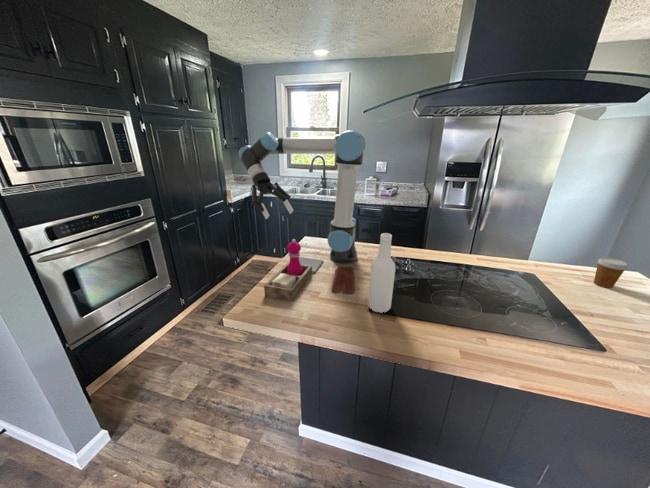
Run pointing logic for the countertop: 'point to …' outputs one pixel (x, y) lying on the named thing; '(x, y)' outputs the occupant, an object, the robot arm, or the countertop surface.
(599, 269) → the disposable coffee cup
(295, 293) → the tray
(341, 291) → the wooden tablet
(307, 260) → the slate tile
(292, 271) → the pepper mill
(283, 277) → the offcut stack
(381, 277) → the alcohol
